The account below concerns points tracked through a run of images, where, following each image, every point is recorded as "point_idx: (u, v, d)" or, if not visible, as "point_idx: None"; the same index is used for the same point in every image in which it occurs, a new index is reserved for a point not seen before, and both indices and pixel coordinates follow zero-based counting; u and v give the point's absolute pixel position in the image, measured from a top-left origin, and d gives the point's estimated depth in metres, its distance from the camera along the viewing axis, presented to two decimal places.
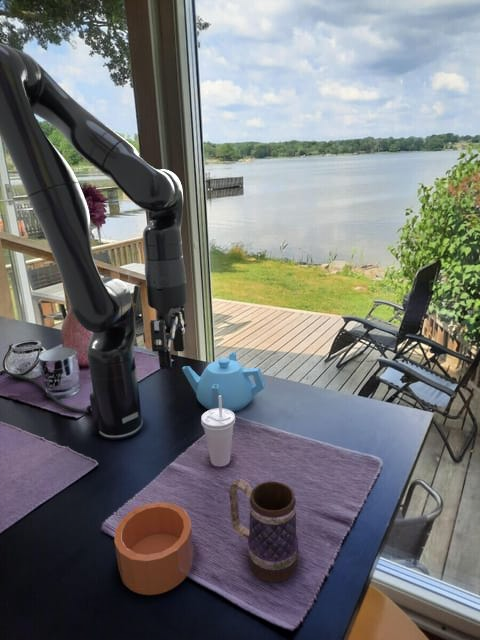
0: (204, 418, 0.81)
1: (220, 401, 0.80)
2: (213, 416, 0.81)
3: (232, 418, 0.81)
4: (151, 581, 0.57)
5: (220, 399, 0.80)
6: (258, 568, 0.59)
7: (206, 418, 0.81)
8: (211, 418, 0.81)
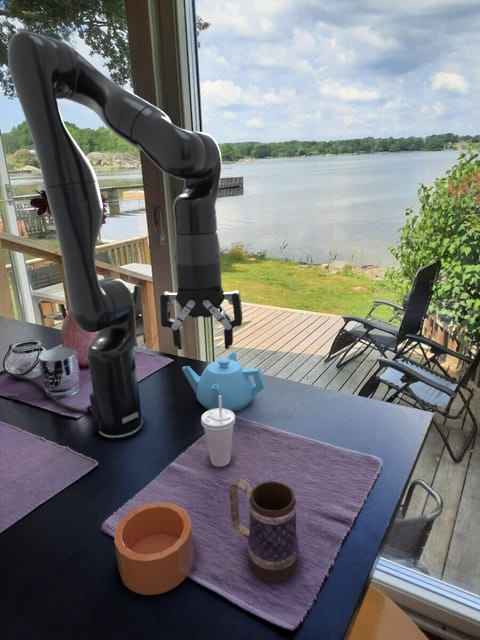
0: (204, 418, 0.81)
1: (220, 401, 0.80)
2: (213, 416, 0.81)
3: (232, 418, 0.81)
4: (151, 581, 0.57)
5: (220, 399, 0.80)
6: (258, 568, 0.59)
7: (206, 418, 0.81)
8: (211, 418, 0.81)
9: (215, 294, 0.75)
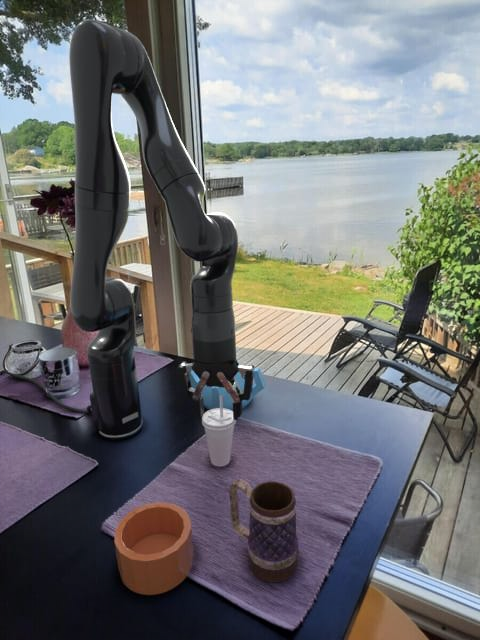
0: (205, 418, 0.81)
1: (221, 401, 0.80)
2: (214, 416, 0.81)
3: None
4: (151, 581, 0.57)
5: (221, 399, 0.80)
6: (258, 568, 0.59)
7: (207, 418, 0.81)
8: (212, 418, 0.81)
9: (230, 366, 0.77)
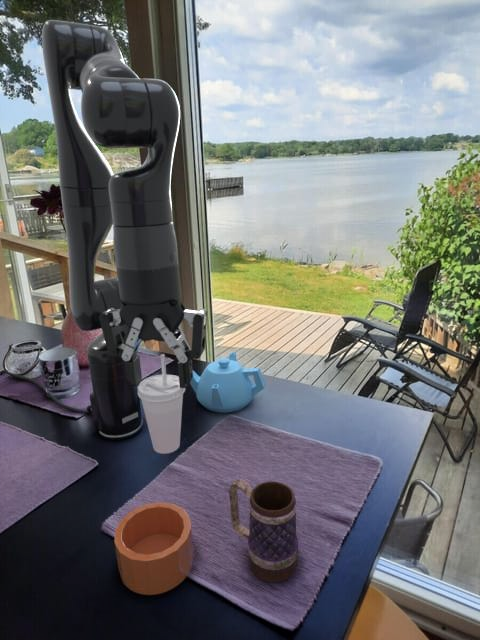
0: (142, 386, 0.59)
1: (163, 362, 0.58)
2: (154, 384, 0.59)
3: None
4: (151, 581, 0.57)
5: (163, 359, 0.58)
6: (258, 568, 0.59)
7: (144, 386, 0.59)
8: (152, 386, 0.59)
9: (171, 310, 0.54)
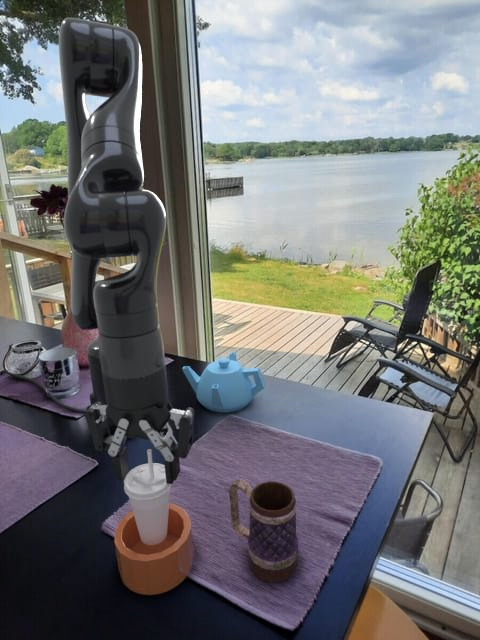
0: (128, 480, 0.58)
1: (150, 457, 0.57)
2: (141, 477, 0.58)
3: None
4: (151, 581, 0.57)
5: (150, 455, 0.57)
6: (258, 568, 0.59)
7: (131, 480, 0.58)
8: (138, 480, 0.58)
9: (157, 412, 0.54)
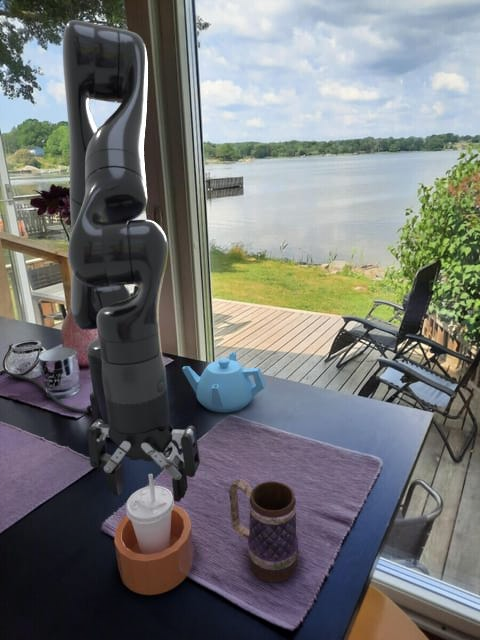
0: (130, 504, 0.60)
1: (151, 482, 0.58)
2: (143, 501, 0.60)
3: (168, 504, 0.59)
4: (151, 581, 0.57)
5: (151, 479, 0.58)
6: (258, 568, 0.59)
7: (133, 504, 0.59)
8: (140, 504, 0.59)
9: (158, 435, 0.54)
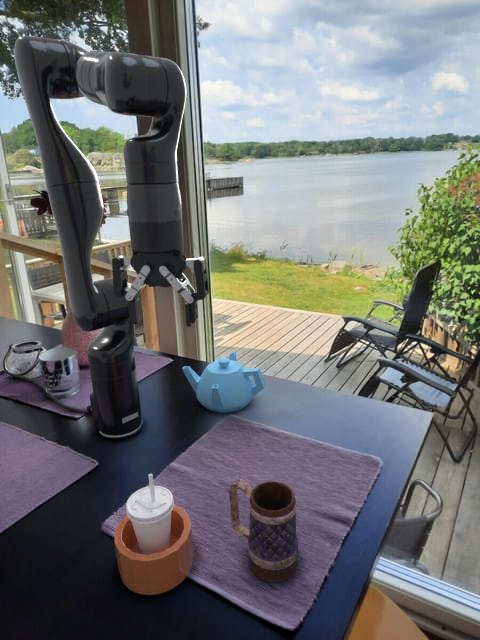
0: (130, 504, 0.60)
1: (151, 482, 0.58)
2: (143, 501, 0.60)
3: (168, 504, 0.59)
4: (151, 581, 0.57)
5: (151, 479, 0.58)
6: (258, 568, 0.59)
7: (133, 504, 0.59)
8: (140, 504, 0.59)
9: (174, 260, 0.63)
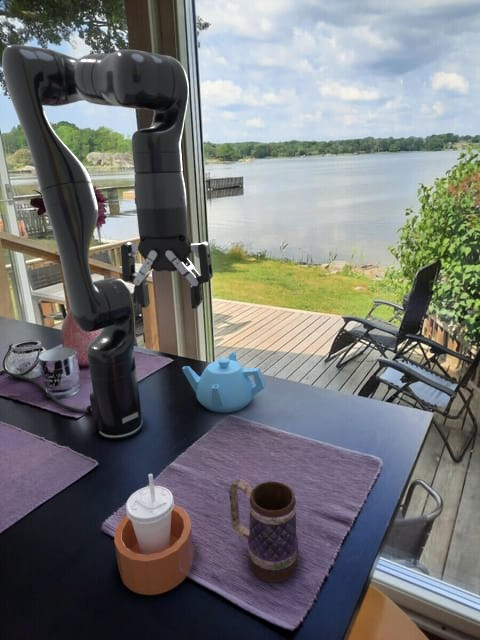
0: (130, 504, 0.60)
1: (151, 482, 0.58)
2: (143, 501, 0.60)
3: (168, 504, 0.59)
4: (151, 581, 0.57)
5: (151, 479, 0.58)
6: (258, 568, 0.59)
7: (133, 504, 0.59)
8: (140, 504, 0.59)
9: (180, 245, 0.67)
